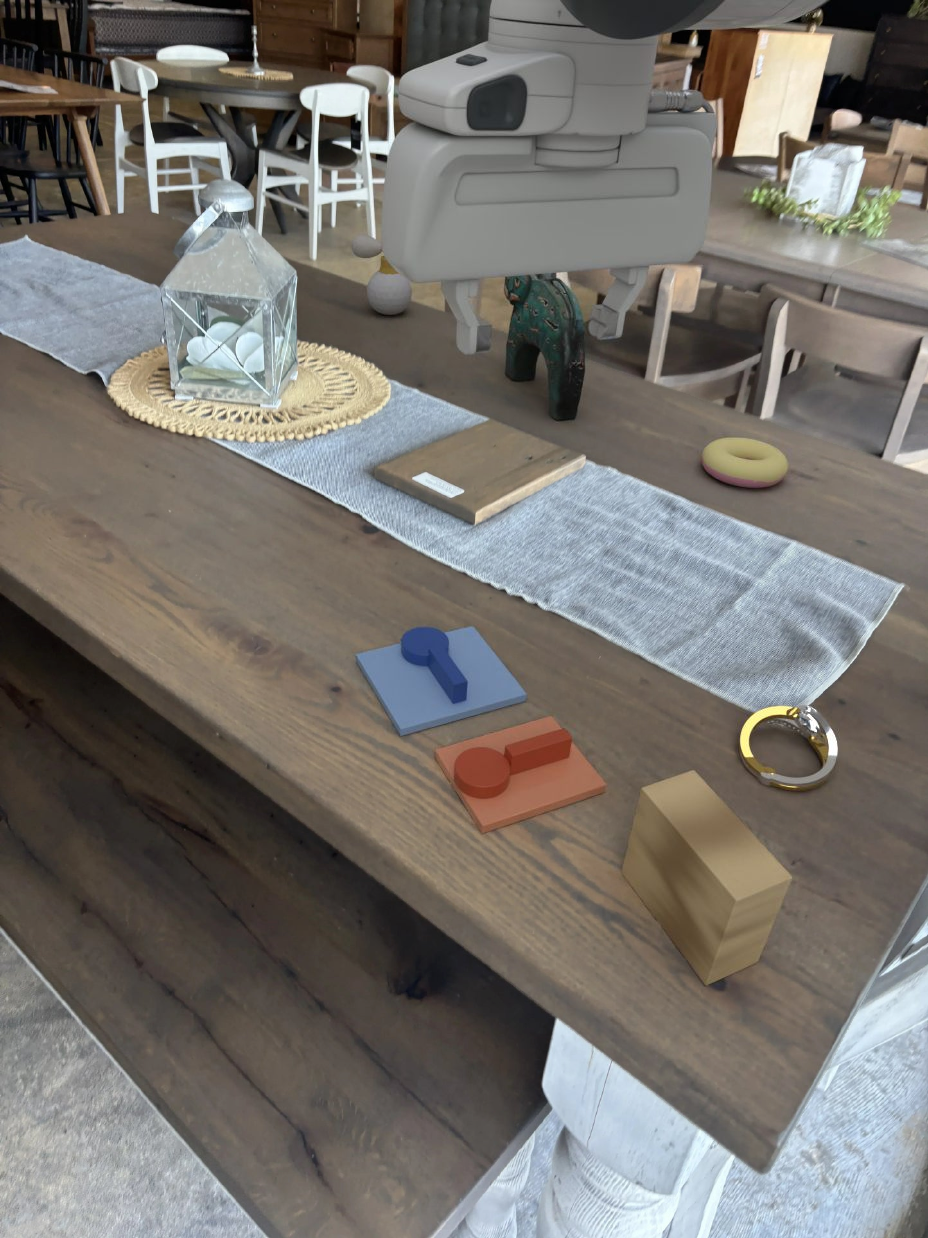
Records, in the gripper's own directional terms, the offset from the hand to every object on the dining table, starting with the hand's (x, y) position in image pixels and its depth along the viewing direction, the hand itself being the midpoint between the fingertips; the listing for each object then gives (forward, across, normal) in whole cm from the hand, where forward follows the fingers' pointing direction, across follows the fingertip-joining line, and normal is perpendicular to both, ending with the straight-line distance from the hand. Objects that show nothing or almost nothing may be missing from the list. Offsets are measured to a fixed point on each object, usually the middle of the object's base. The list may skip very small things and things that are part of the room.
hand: (540, 343), depth 57 cm
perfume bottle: (+29, -27, -96) cm, 104 cm away
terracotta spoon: (+28, +3, +8) cm, 30 cm away
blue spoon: (+28, +4, -4) cm, 29 cm away
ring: (+29, -13, +16) cm, 35 cm away
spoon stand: (+29, -1, +23) cm, 37 cm away
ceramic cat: (+29, -35, -56) cm, 72 cm away
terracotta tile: (+29, +3, +8) cm, 30 cm away
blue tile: (+29, +4, -4) cm, 30 cm away
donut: (+29, -46, -26) cm, 60 cm away
